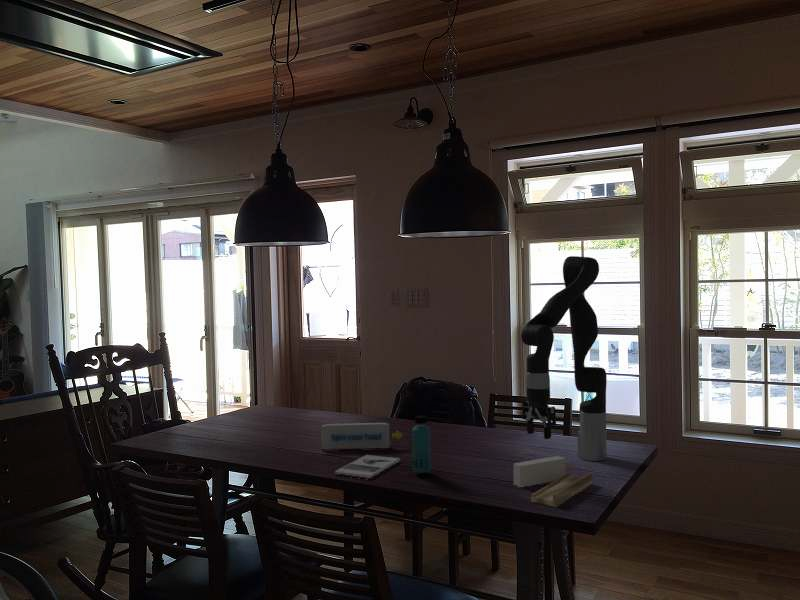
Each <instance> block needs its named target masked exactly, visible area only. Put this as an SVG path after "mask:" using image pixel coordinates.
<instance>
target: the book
mask: <svg viewBox="0 0 800 600" xmlns="http://www.w3.org/2000/svg"><path fill="white" fill-rule="evenodd" d="M399 461H400V462H401V458H400V457H391V456H382V455H372V454H365V455H364V456H361V457H359V458H358V459H356V460H354V461H352V462H350V463H348V464H346V465H344V466H342V467H340V468H339V469H337V470H335V471H334V474H335V473H337V474H345V475H352V476H359V477H366V478H372V477H373V476H375V475H377V474H379V473H380V472H382V471H384V470H385V469H387V468H389V467H391V466H392V465H394V464H396V463H398V462H399ZM400 462H399V463H400ZM399 463H398V464H399ZM396 465H397V464H396ZM394 466H395V465H394ZM391 468H392V467H391ZM389 469H390V468H389ZM384 472H385V471H384ZM379 475H380V474H379Z"/></svg>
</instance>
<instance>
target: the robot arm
mask: <svg viewBox="0 0 800 600" xmlns="http://www.w3.org/2000/svg"><path fill="white" fill-rule="evenodd" d="M599 273H600V264H599V262H598V260H597V259H596V258H594V257H590V256H577V255H575V256H573V255H571V256H567V257H566V258H565V259H564V261H563V264H562V277H563V282H564V288H562V289H561V290H560V291H558V292H557V293H555V294H553V295H552V296H551V297H550V298H549V299H548V300H547V301H546V302H545V304H544V306H543V307H542V308H541V310H540V312H539V313H537V314H536V315H534V317H532V318H531V319H530V320H529V321H528V322H527V323H526V324H525V325H524V327H523V328H522V331H521V332H520V338H521V341H522V342H523V344H524V345H526V346H530V347H536V350H535V352H534V353H530V354H527V356H526V377H525V383H526V384H525V386H526V387H525V389H526V390H525V391H526V393H525V394H526V395H525V396H526V397H525V398H526V401H522V403H521V404H522V406H521V409H522V410H521V418H522V420H525V422H526V432H527V435H533V434H534V433H535V426H534V425H535V422H534V420H535V418H537V419H539V421H540V422H541V423H542V425H543V439H545V440H549V439H551V438H552V427H555V426H556V425H557V418H556V417H557V416H556V407H555V406H549V402H551V401H550V400H551V379H550V364H549V363H550V357H551V352H552V349H553V345H554V340H555V335H554V331H553V329H552V328H555V327H558V325H559V324H560V322H561V321H562V319H563V317H564V316H566V315H565V314H566V313H567V312H568V311H569V312H568V313H569V325H570V333H571V339H572V340H571V341H572V349H573V363H574V364H573V366H574V367H573V370H574V384H575V385H574V386H575V388H576V390H577V391H578V392H580V393H591V394H592V393H595V396H594V397H592V398H591V399H588V400H585V401H582V402H580V404H579V430H578V431H577V456H578V458H581V459H582V460H585V461H590V462H591V461H592V462H602V461H605V460H607V457H608V455H607V454H608V452H607V451H608V450H607V447H608V446H607V379H608V378H607V377H608V376H607V372H606V369H605V368H604V367H598V366H597V367H595V366H585V360H586V358H587V355H588V352H589V351H590V350H591V348H592V347H593V346H594V344H595V342H596V340H597V338H598V336H599V329H598V328H599V327H598V326H599V325H598V318H597V315H596V313H595V310H594V309H593V308H592V306H591V305H590V303H589V302H588V299H586V297H585V295H584V293H585V292H586V291H587V290H588V289H589V288H590V287H592V285H593V284H594V282H596V280H597V278H598V275H599Z"/></svg>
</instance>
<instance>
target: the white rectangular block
mask: <svg viewBox="0 0 800 600" xmlns="http://www.w3.org/2000/svg"><path fill="white" fill-rule="evenodd" d="M512 465H513V485H514V486H515V485H517V486H516V487H518V486H519V487H518V488H520V487H521V488H525V486H527V487H531V485H532V486H536V484H537V485H543V484H547V483H552V482H554V481H556V480H557V479H559V478H561V477H563V476H564V475H566V458H565V457H562V456H559V455H555V456H551V457H544V458H538V459H533V460H526V461H522V462H516V463H515V462H514V463H513V464H512Z"/></svg>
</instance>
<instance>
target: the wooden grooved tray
mask: <svg viewBox="0 0 800 600" xmlns="http://www.w3.org/2000/svg"><path fill="white" fill-rule="evenodd" d="M592 475H593V473H592V472H587V473H586V474H584V475H582V476H575V475H571V473H565V475H564V476H563V477H561V478H559V479H557V480H556V481H552V482H549V483H548V484H547V485H546V486H543V487H542V488H540V489H538V490H537V491H535V492H533V493H532V494H531V495H530V502H531V503H536V504H540V505H544V506H549V507H553V508H558V507H560V505H562V504H564V503H565V502H567V501H568V500H569V498H570V499H572V498H573V497H575V496H576V495H577V494H579V493H580V492H582V491H584V490H585V489H586V487H587V488H588V487H590V486H591V485H592V484H593V477H592ZM589 485H590V486H589ZM583 489H584V490H583ZM578 492H579V493H578ZM575 494H576V495H575ZM572 496H573V497H572ZM566 500H567V501H566Z"/></svg>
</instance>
